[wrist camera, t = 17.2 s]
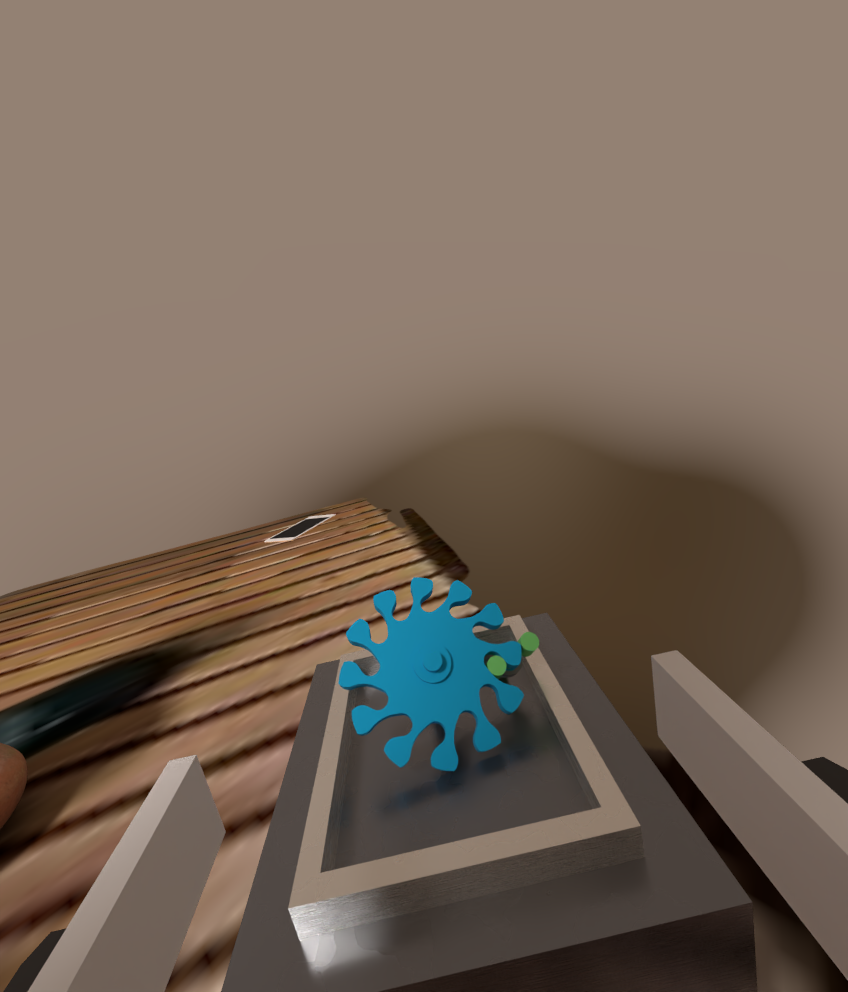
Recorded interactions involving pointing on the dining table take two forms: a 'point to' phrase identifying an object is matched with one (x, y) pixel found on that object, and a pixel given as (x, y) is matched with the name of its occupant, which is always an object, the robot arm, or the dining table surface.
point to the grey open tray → (487, 853)
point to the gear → (435, 671)
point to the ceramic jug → (11, 780)
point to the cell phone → (300, 528)
